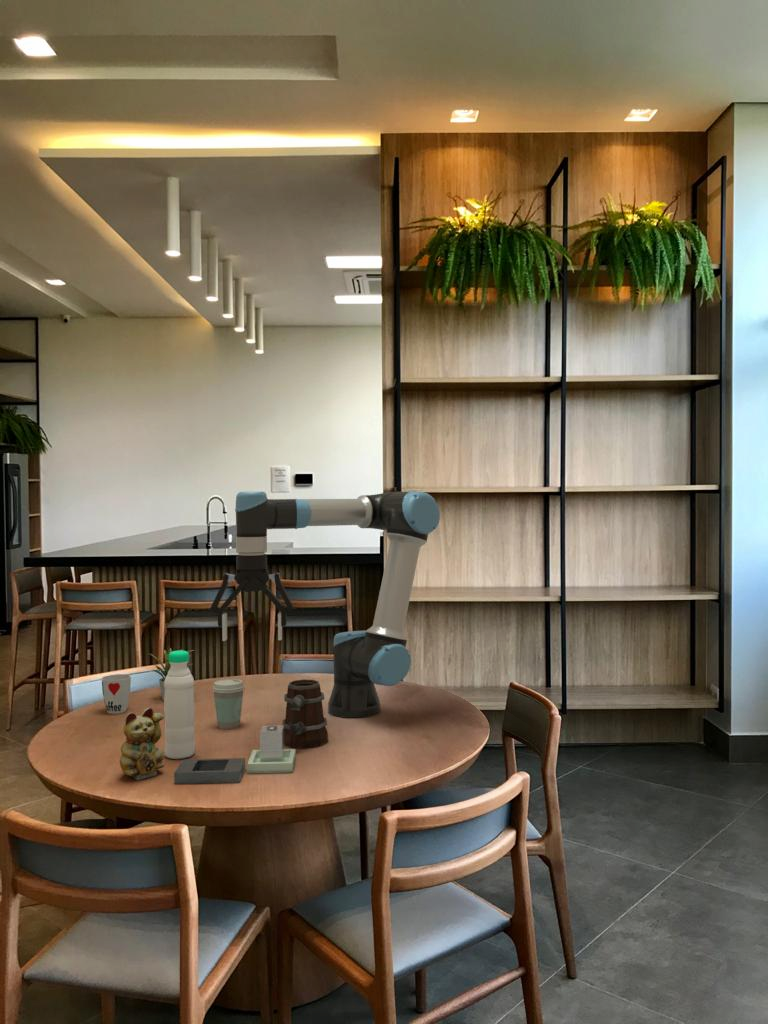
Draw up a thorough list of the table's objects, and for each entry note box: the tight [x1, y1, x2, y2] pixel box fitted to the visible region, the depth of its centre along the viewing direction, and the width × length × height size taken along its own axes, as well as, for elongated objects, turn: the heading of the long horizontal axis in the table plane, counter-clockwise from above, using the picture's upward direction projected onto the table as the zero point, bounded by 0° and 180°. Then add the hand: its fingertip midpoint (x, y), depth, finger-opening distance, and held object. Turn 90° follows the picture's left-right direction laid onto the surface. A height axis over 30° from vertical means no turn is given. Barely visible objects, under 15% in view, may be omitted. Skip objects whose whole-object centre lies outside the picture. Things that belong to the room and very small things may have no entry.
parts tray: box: [246, 748, 296, 775], centre depth 183 cm, size 10×10×2 cm
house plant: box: [149, 646, 195, 702], centre depth 245 cm, size 14×14×16 cm
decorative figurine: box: [119, 707, 165, 781], centre depth 178 cm, size 10×8×15 cm
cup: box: [101, 673, 132, 715], centre depth 231 cm, size 8×8×10 cm
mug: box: [281, 678, 329, 749], centre depth 199 cm, size 16×12×15 cm
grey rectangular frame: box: [173, 757, 246, 785], centre depth 177 cm, size 14×9×2 cm, turn 92°
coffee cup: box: [212, 678, 245, 730], centre depth 216 cm, size 8×9×12 cm
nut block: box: [259, 724, 285, 762], centre depth 183 cm, size 5×5×8 cm
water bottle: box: [163, 650, 196, 760], centre depth 191 cm, size 7×7×25 cm
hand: (252, 639), depth 197 cm, fingers open, 13 cm apart
